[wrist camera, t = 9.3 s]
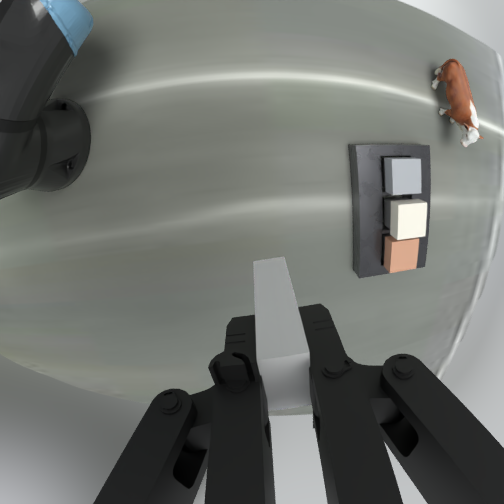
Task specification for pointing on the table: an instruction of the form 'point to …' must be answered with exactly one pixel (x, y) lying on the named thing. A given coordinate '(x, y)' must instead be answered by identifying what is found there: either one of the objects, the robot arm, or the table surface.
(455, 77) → the bull figurine
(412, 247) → the tan cube
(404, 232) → the cream key
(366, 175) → the keypad base
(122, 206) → the table surface
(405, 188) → the grey key
